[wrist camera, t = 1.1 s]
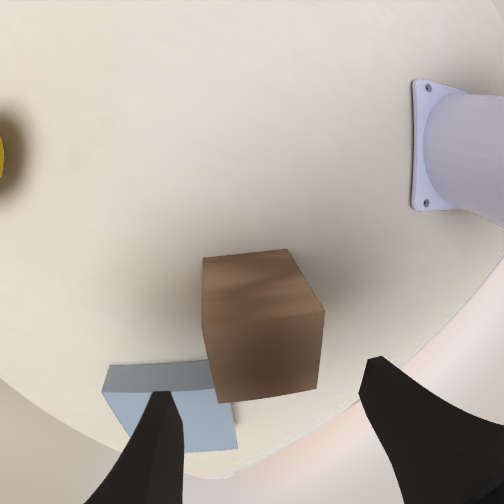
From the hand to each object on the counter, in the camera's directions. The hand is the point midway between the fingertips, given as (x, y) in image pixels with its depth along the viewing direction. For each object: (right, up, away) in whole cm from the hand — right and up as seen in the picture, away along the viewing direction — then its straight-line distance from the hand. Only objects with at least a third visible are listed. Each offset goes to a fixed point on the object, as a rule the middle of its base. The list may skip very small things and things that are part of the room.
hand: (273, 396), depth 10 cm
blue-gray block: (-6, -6, +10) cm, 13 cm away
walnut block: (-1, +3, +7) cm, 8 cm away
